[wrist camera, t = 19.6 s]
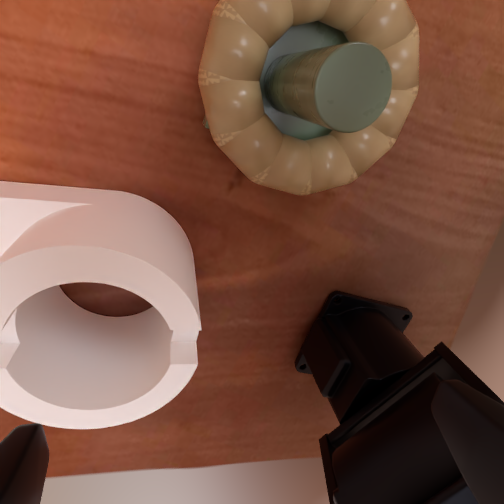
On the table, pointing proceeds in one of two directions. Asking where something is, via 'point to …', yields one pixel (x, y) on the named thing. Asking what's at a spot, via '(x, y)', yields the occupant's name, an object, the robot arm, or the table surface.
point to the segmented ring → (251, 103)
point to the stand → (323, 82)
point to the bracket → (87, 323)
